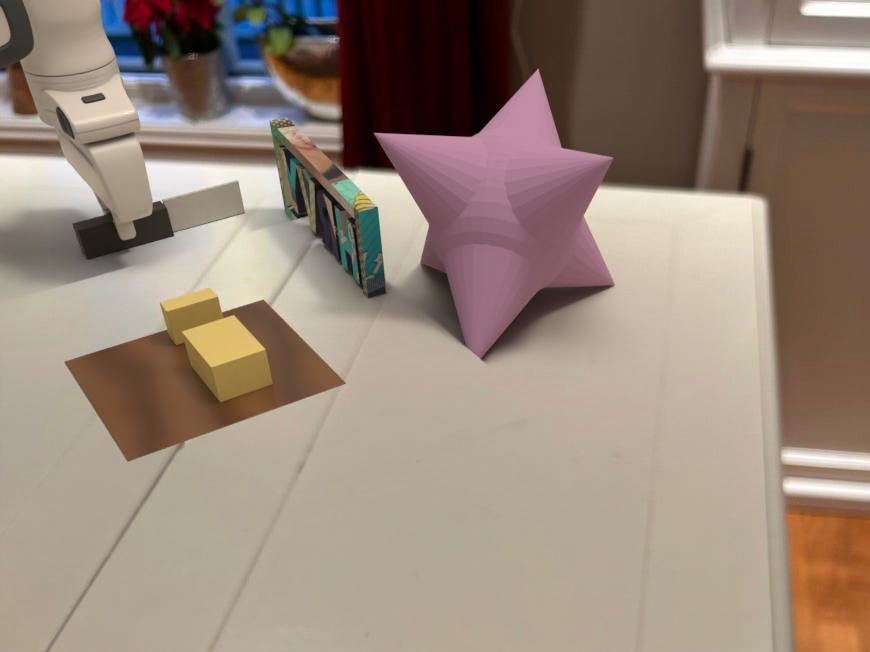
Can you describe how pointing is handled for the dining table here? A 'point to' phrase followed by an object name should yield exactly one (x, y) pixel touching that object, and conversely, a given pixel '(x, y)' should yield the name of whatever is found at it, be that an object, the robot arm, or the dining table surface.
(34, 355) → the dining table surface
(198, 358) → the butter block
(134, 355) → the cutting board
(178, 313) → the butter slice
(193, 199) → the knife
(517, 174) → the decorative object
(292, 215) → the decorative block
